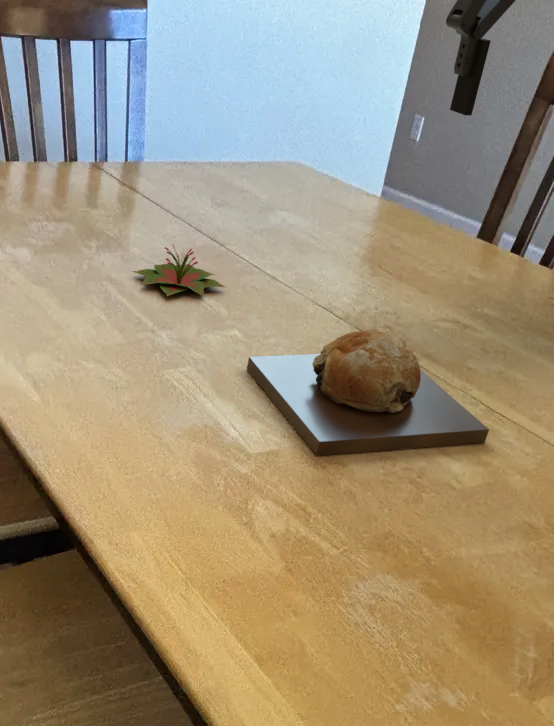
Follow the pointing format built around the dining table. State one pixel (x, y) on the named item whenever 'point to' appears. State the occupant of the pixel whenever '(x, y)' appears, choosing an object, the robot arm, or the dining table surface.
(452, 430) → the cutting board
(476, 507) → the dining table surface
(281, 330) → the dining table surface
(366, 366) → the bread roll
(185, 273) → the lily flower
